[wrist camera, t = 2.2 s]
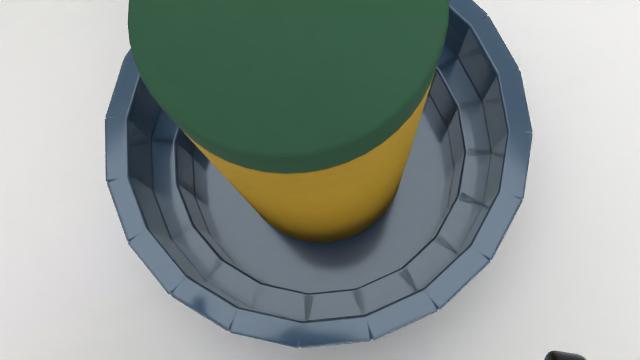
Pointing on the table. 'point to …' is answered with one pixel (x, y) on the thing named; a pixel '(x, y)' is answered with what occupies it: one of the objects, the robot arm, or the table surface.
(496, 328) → the table surface
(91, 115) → the table surface
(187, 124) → the green-capped yellow cylinder
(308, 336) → the bowl
